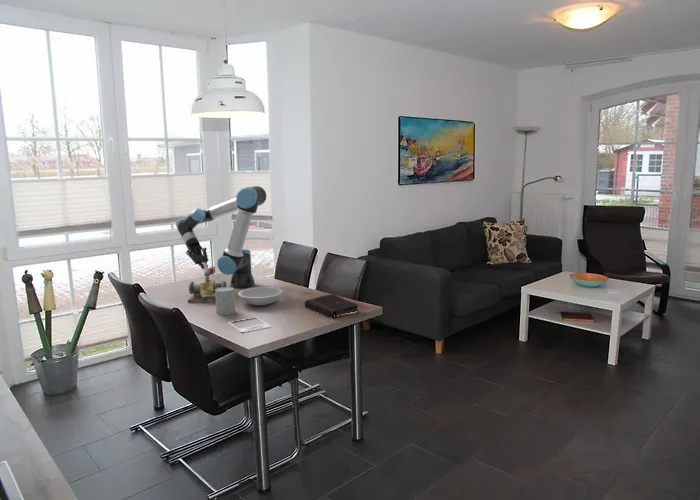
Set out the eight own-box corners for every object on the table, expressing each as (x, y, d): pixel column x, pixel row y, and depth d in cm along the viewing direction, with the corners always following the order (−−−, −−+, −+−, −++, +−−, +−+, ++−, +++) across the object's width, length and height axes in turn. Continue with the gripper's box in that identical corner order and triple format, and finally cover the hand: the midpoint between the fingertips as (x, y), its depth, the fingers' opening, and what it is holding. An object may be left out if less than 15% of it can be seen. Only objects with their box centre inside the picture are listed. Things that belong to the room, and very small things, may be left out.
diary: (331, 320, 253) (331, 310, 252) (304, 309, 273) (304, 300, 272) (361, 313, 264) (361, 303, 263) (333, 302, 284) (333, 293, 283)
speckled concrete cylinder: (238, 310, 269) (237, 287, 267) (228, 315, 260) (227, 292, 258) (222, 308, 272) (221, 286, 270) (212, 314, 263) (211, 290, 261)
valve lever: (215, 272, 302) (215, 266, 302) (209, 278, 287) (208, 272, 286) (210, 272, 302) (210, 266, 301) (203, 278, 287) (203, 272, 286)
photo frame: (241, 331, 233) (228, 321, 248) (241, 334, 234) (228, 323, 249) (271, 326, 241) (256, 316, 256) (271, 328, 241) (256, 318, 256)
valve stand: (228, 296, 296) (227, 274, 294) (224, 302, 285) (223, 279, 283) (193, 297, 296) (192, 275, 293) (187, 302, 285) (186, 279, 283)
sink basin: (291, 301, 286) (291, 289, 285) (265, 312, 265) (264, 300, 264) (257, 296, 297) (256, 285, 296) (229, 306, 276) (228, 294, 275)
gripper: (198, 243, 316) (215, 274, 307) (179, 246, 306) (195, 278, 298) (202, 235, 311) (219, 266, 303) (182, 238, 302) (199, 270, 293)
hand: (207, 272), depth 300 cm, fingers closed
